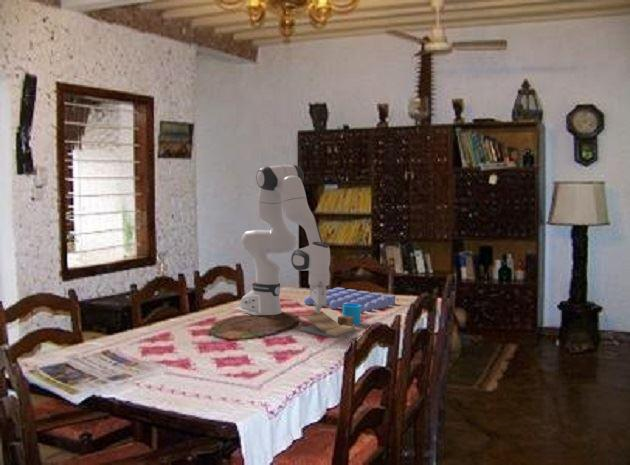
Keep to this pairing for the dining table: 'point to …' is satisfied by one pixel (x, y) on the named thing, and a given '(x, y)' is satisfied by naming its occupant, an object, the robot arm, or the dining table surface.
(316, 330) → the underlay
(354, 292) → the blue flat bumpy slab
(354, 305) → the mug
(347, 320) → the block
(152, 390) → the dining table surface
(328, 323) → the tan flat slab
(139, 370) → the dining table surface
